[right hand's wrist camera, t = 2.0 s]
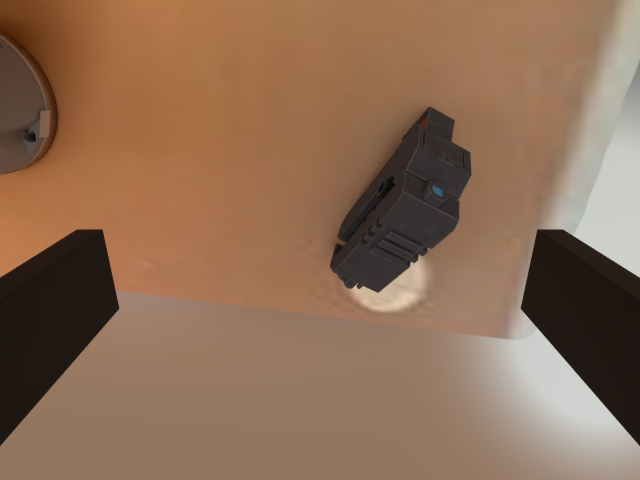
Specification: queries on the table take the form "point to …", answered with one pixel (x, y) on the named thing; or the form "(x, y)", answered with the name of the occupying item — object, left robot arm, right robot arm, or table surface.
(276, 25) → the table surface
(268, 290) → the table surface
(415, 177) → the tool
